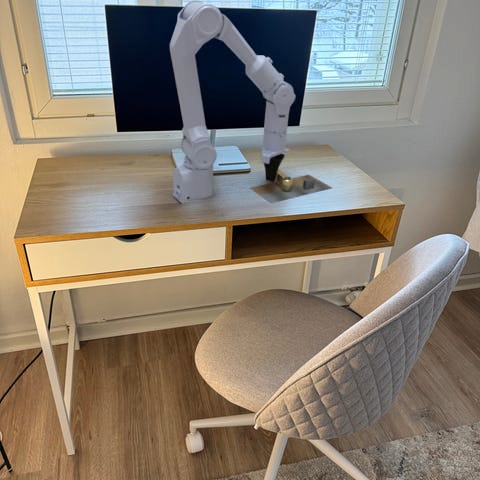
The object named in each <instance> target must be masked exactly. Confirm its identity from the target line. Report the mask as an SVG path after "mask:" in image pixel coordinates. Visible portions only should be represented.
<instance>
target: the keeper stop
mask: <svg viewBox="0 0 480 480" xmlns="http://www.w3.org/2000/svg"><path fill="white" fill-rule="evenodd" d="M314 178H315V177H314ZM314 178H310V179H306V180H304V183H303V189H305V190H307V189H311V188H314V185H315V179H314Z"/></svg>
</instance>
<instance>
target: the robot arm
mask: <svg viewBox="0 0 480 480" xmlns="http://www.w3.org/2000/svg"><path fill="white" fill-rule="evenodd" d="M176 21H177V22H176V24H175V28H174V31H173V33H172V36H171V40H170V42H169V52H170V58H171V62H172V68H173V73H174V79H175V86H176V90H177V91H176V92H177V96H178V102H179V106H180V113H181V117H182V124H183V127H182V129H181V133H182V140H181V141H180V146H181V148H180V149H181V150H182V152H183V154H184V155H185V157H184V159H183V163H182V164H181V165H180V166H177V167H175V168H174V169H173V173H172V178H173V179H172V183H173V188H172V189H173V193H172V196H173V197H174V198H175V199H176V200H177V201H179V203H181V204H184V202H188V201H192V200H201V199H207V198H209V197H212V195H213V194H214V192H213V191H214V164H215V162H216V160H217V149H216V148H215V146H214V145H213V144H212V140H211V136H210V134H209V131H208V128H207V126H206V119H205V112H204V106H203V100H202V94H201V87H200V86H201V85H200V81H199V74H198V68H197V60H196V54H197V53H198V51H199V50H200V49H201V48H202V46H203V45H204V44H206V43H207V42H209V41H210V40H211V39H217V40H220V41H221V42H223V43H224V44H225V45H226V46H227V47H228V48H229V49H230V50H231V52H233V53H234V54H235V55H236V57H237V58H238V59H239V60H241V62H242V63H243V64H244V66H245V75H246V77H248V78H249V79H250V80H251V81H252V83H253V84H254V85H255V86H256V87H257V88H258V89H259V91H260V92H261V93H262V96H263V98H264V99H266V101H265V103H266V105H265V114H264V123H263V124H264V125H263V126H264V127H263V139H262V145H261V154H260V163H262V164H263V165H264V171H265V175H264V176H265V180H266V181H267V182H271V183H274V182H275V179H276V175H277V171H278V169H279V167H280V166H281V164H282V161H283V160H284V159H285V157H286V156H285V154H288V153H289V152H290V148H289V147H286V144H287V143H286V141H287V133H288V125H289V122H288V121H289V114H290V108H291V106H292V104H293V103H294V102H295V101H296V94H295V92H294V87H293V85H292V84H290V83H288V82H286V81H284V78H285V76H284V74H282V73H280V72H279V71H277V69H276V68H275V67H274V66H273V65H272V64H273V60H272V59H271V57H269V56H267V57H266V56H265V55H258V54H256V53H255V51H254V50H253V48H251V46H250V45H249V43H248V42H247V41H246V40H245V38H244V37H243V36H242V33H240V32H239V30H238V29H237V28H236V27H235V25H234V23H232V21H231V20H230V19H229V18H228V17H227V16H226V15H225V14H223V13H221V11H220V8H218V7H217V6H215V5H214V4H212V3H205V2H202V1H200V0H191V1H189V2H187V3H186V4H185V5H184V7H183V8H182V9H181V10H180V11H179V12H178V13H177V20H176Z"/></svg>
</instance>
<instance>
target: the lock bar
mask: <svg viewBox="0 0 480 480" xmlns="http://www.w3.org/2000/svg"><path fill="white" fill-rule="evenodd" d="M274 182H276V183H277V184H278V185H279V186H281V187H282V190H284V191H291V190H292V183H293V179H292V177H289V176H288V175H286V173H284V172H283V171H281V170H280V169H279V168H278V171H277V175H276V179H275V181H274Z"/></svg>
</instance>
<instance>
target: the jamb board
mask: <svg viewBox="0 0 480 480" xmlns="http://www.w3.org/2000/svg"><path fill="white" fill-rule="evenodd" d="M291 178H292V177H291ZM310 178H314V179H315V185H314V188H311V189H307V190H305V189H303V183H304V180H306V179H310ZM292 179H293V183H292V190H291V191H284V190H282V187H281V186H279V185H278V184H277V183H276V182H275V181H274V182H271V183H270V182H269V183H265V184H261V185H256V186H252V187H249V189H250V190H251V191H253V192H254V193H255V194H256V195H259V196H260V197H262V199H265V200H266V201H267V202H269V203H270V204H275V203H278V202H282V201H286V200H290V199H295V198H299V197H302V196H308V195H310V194H314V193H315V194H316V193H319V192H322V191H326V190H331V189H333V187H332V186H331V185H328V184H327V183H324V182H323V181H322V180H319V179H318V178H316V177H314V176H312V175H310V174H306V175H300V176H297V177H293V178H292Z"/></svg>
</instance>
